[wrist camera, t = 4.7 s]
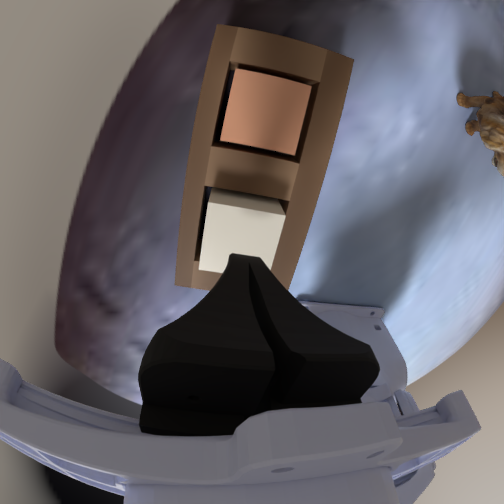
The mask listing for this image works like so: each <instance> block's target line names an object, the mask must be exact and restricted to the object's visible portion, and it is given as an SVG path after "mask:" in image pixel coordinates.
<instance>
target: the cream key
mask: <svg viewBox="0 0 504 504" xmlns="http://www.w3.org/2000/svg"><path fill="white" fill-rule="evenodd" d="M285 217H286V215H285V213H284V211H283V209H282V207H281V205H280V203H279V201H278V199H277V198H273V197H268V196H262V195H257V194H252V193H246V192H240V191H235V190H229V189H223V188H217V187H212V190H211V194H210V197H209V201H208V207H207V213H206V220H205V226H204V233H203V240H202V248H201V255H200V263H199V270H205V271H212V272H218V273H223V272H224V270H225V268H226V266H227V264H228V258H229V255H230V254H231V253H236V254H242V255H249V256H256V257H260V258H261V259H262V260H263V261H264V263H265V264H266V265H267V267H268V268H269V269H270V270H271V267H272V263H273V260H274V256H275V253H276V249H277V246H278V242H279V239H280V235H281V231H282V228H283V224H284V221H285Z"/></svg>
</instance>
